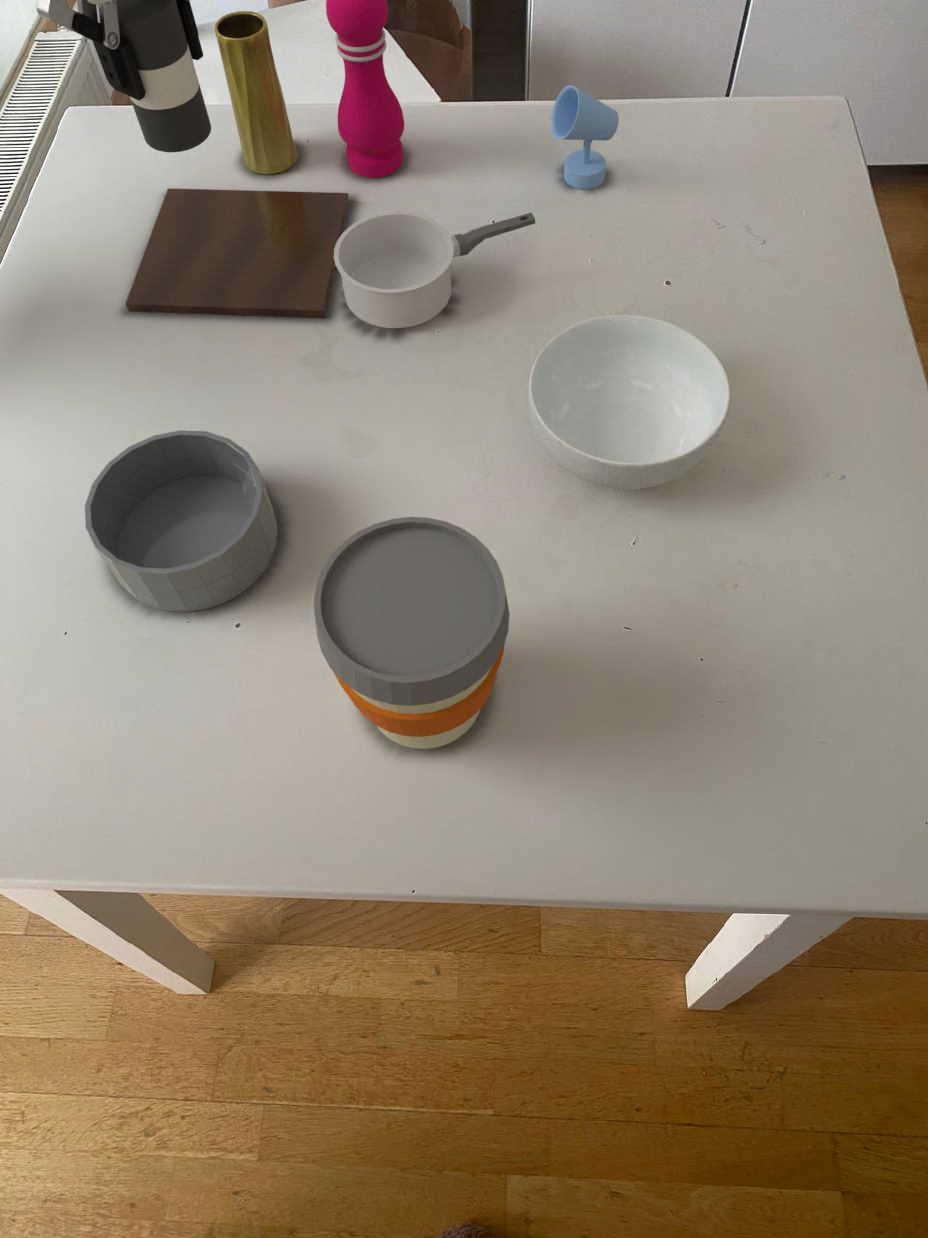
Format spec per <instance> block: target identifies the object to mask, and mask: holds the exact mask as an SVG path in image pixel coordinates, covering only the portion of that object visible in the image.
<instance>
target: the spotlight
mask: <svg viewBox="0 0 928 1238" xmlns="http://www.w3.org/2000/svg"><path fill="white" fill-rule="evenodd" d="M619 117H620V116H619V113H618V111H617V110H615V109H614V108H612V107H611V106H609V105H607V104H606V103H604V102H602V101H601V100H599V99H596V98H595V97H594V96H592V95H590V94H588V93H587V92H585V91H583V90H582V89H579V88H578V87H576V86H574V85H573V84H572V85H571V84H569V85H566V86H565V87H564V88H563V89H562V90H561V91H560V92H559V93H558V95H557V97H556V99H555V100H554V104H553V107H552V112H551V120H550V128H551V133H552V136H554V138H555V139H556V140H561V141H562V140H565V141H583V147H582V149H579V150H576V151H575V150H574V151H572V152H571V153H569V154H568V155H567V156H566V157H565V160H564V166H563V167H564V168H563V179H564V182H565V183H566V184H567V185H568V186H569V187H572V188H575V189H578V190H592V189H595V188H598V187H599V186H601V185H602V184H603V183H604V181H605V178H606V170H607V160H606V158H605V156H604V155H602V154H601V153H599V152H598V151H595V150H591V148H592V142H593V141H610V140H611V139H612V138H613V137H614V136H615V134H616V133H617V130H618V128H619V127H618V126H619V123H620V122H619V120H620V119H619Z"/></svg>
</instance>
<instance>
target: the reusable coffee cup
mask: <svg viewBox="0 0 928 1238" xmlns="http://www.w3.org/2000/svg"><path fill="white" fill-rule="evenodd" d="M313 609H314V610H313V613H314V614H313V615H314V621H315V629H316V637H317V640H318V644H319V649H320V651H321V654H322V656H323V658H324V660H325V661H326V663H327V665H328V667H329V668H330V669H331V671H332V672H333V674H334V676H335V678H336V680H337V682H338V684H339V685H340V687H341V688H342V690H343V691H344V692H345V694H346V695H347V696H348V698H349V699H350V701H351V702H352V704H353V705H354V706H355V708H356V709H357V710H358V711H359V712H360V713H361V715H363V717H364V718H365V719H366V720H368V721H370V722H371V723H372V724H373V725H375V726H376V727H377V729H378V730H379V731H380V732H381V733H382V735H384V736H385V737H387V738H388V739H389V740H391V741H392V742H393V743H396V744H398V745H400V746H404V747H407V748H411V749H416V750H419V749H420V750H428V749H436V748H440V747H443V746H447V745H449V744H451V743H453V742H454V741H456V740H459V739H460V738H461V737H462V736H463V735H465V734H466V733H467V732H468V731H469V730H470V728H471V727H473V725H474V723H475V722H476V720H477V719H478V716H479V715H480V711H481V708H483V706H484V705H485V704H486V702H487V700H488V698H489V696H490V695H491V693H492V691H493V688H494V685H495V681H496V680H497V675H498V672H499V670H500V665H501V662H502V659H503V656H504V652H505V643H506V641H507V637H508V633H509V629H510V609H509V603H508V597H507V591H506V586H505V580H504V576H503V574H502V571H501V568H500V566H499V564H498V561H497V560H496V558H495V557H494V555H493V554H492V552H491V551H490V549H489V548H488V547H487V546H486V545H485V544H483V542H481V540H480V539H478V537H477V536H475V535H474V534H472V533H470V532H469V531H467V530H466V529H464V528H463V527H461V526H458V525H455V524H452V523H450V522H448V521H446V520H440V519H436V518H431V517H425V516H424V517H423V516H404V517H397V518H396V517H395V518H391V519H388V520H387V519H386V520H382V521H380V522H376V523H373V524H372V525H369V526H367V527H365V528H362V529H360V530H359V531H357V532H355V533H354V534H353V535H352V536H349V538H347V539H346V540H344V541H343V542H342V543H341V544H340V545H339V546H338V547H337V548H336V549H335V550H334V551H333V552H332V553H331V555H330V557H329V558H328V559H327V561H326V562H325V563H324V565H323V567H322V568H321V571H320V573H319V576H318V578H317V580H316V585H315V588H314V595H313Z"/></svg>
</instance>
